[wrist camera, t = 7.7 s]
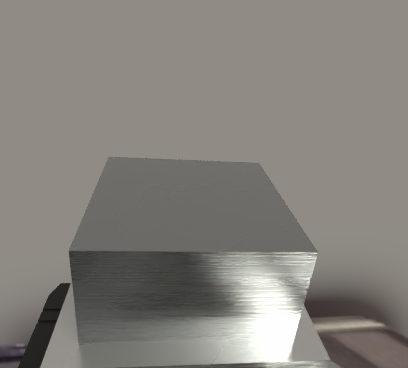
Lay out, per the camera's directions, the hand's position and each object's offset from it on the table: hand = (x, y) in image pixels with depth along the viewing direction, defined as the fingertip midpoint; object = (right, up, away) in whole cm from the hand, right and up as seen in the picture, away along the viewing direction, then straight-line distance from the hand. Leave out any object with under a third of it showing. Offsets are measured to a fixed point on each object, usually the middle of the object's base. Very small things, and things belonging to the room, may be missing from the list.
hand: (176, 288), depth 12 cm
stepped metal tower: (0, -7, +1) cm, 7 cm away
